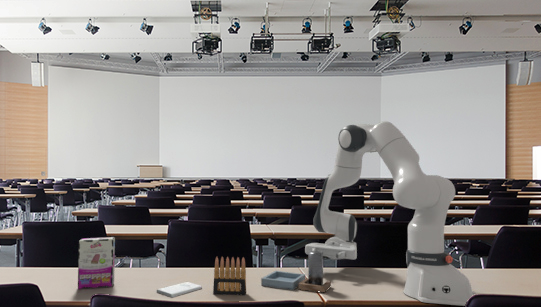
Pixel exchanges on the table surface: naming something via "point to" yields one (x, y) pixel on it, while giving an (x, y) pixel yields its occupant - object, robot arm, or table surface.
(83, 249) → the candy bar box
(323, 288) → the stop seat
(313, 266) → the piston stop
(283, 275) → the tray
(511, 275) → the table surface
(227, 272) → the ammunition clip
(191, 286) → the external hard drive
